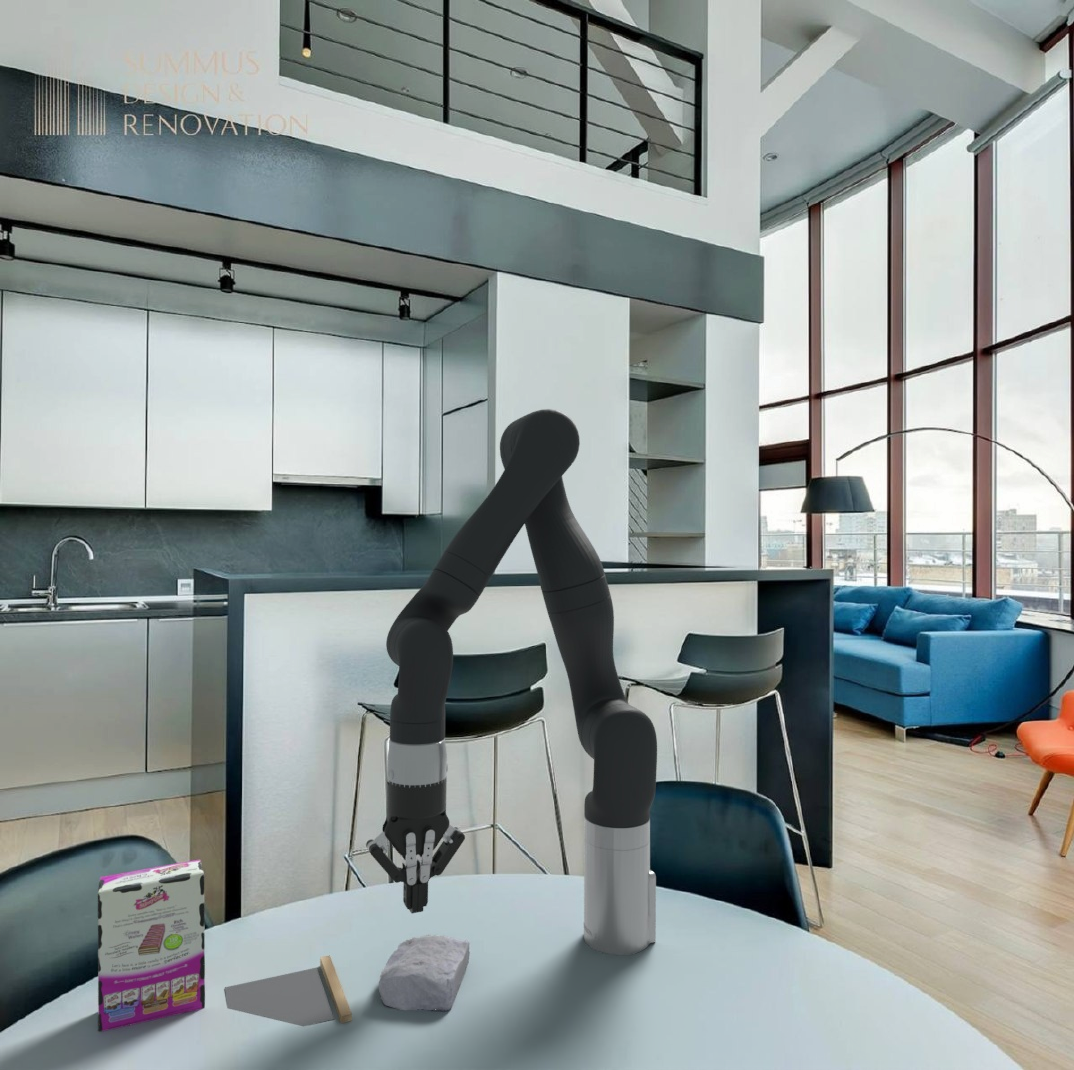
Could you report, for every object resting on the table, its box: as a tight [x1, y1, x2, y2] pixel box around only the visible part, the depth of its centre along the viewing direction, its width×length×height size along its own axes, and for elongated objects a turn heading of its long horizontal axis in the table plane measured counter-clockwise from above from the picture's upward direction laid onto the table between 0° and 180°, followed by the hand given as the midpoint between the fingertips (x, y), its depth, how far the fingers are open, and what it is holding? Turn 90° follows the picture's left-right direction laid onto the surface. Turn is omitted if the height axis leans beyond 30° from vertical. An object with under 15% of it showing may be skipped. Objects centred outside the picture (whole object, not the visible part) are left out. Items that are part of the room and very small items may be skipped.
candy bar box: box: [97, 859, 206, 1032], centre depth 92 cm, size 11×5×16 cm, turn 117°
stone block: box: [378, 934, 471, 1012], centre depth 99 cm, size 12×5×10 cm
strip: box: [319, 955, 353, 1024], centre depth 97 cm, size 1×14×1 cm, turn 25°
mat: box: [224, 967, 335, 1027], centre depth 94 cm, size 11×12×1 cm
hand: (415, 909), depth 101 cm, fingers closed
